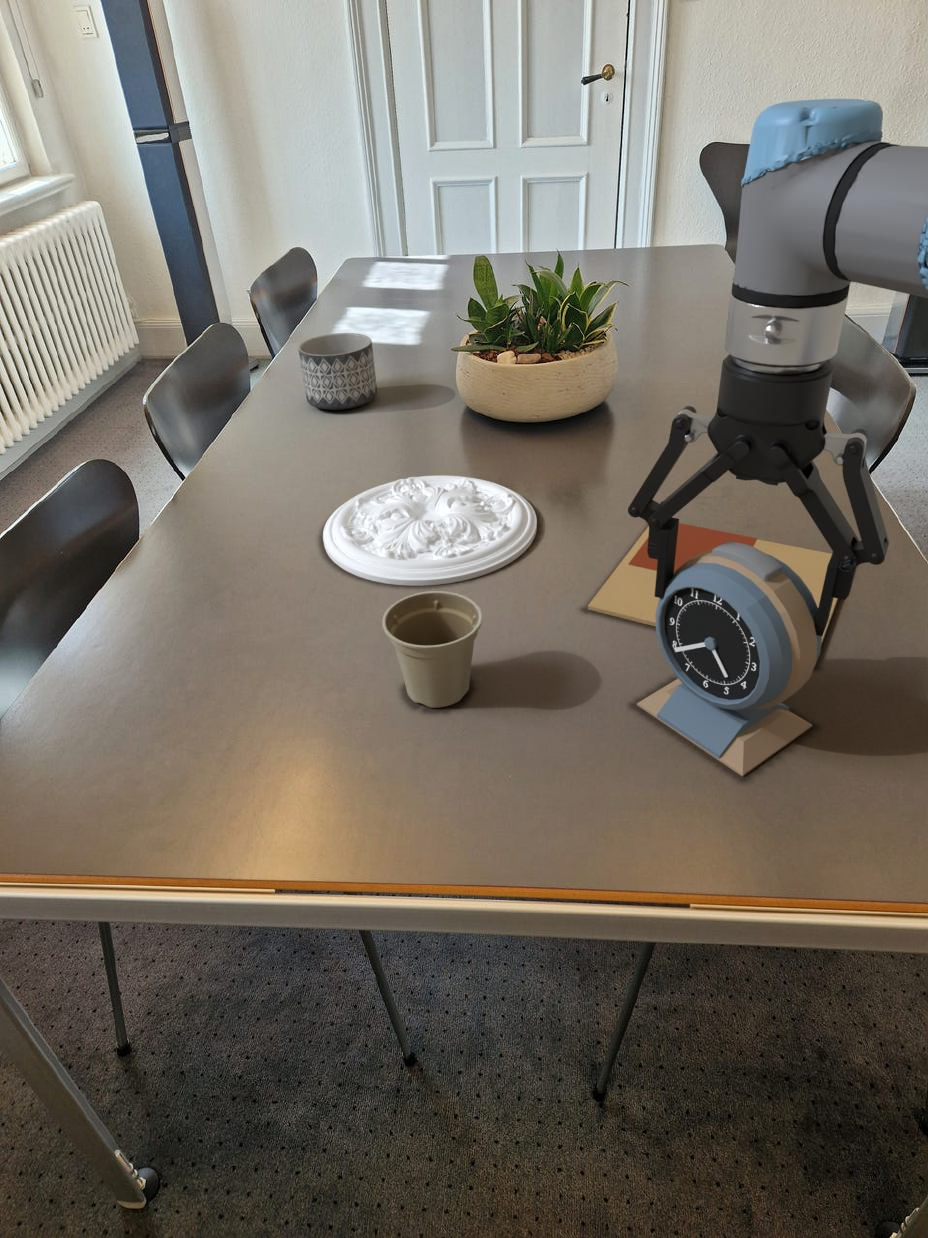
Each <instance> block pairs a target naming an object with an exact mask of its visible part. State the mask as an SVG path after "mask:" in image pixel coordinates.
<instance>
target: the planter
mask: <svg viewBox="0 0 928 1238" xmlns="http://www.w3.org/2000/svg"><path fill="white" fill-rule="evenodd" d="M297 349H298V355H299V361H300V368H301V373H302V378H303V379H302V380H303V385H304V392H305V397H306V401H307V403H308V404H309V405H310V406H312V407H314V408H317V409H322V410H330V411H346V410H351V409H355V408H357V407H361V406H363V405H366V404H368V403H370V402H372V401H374V399H375V398H377V396H378V383H377V376H376V366H375V359H374V351H373V341H372V338H371V337H370V336H368V335H366V334H361V333H356V332H355V333H354V332H335V333H328V334H321V335H317V336H314V337H311V338H308V339H306V340H304V341H302V342H301V343H300V344H299V345H298V347H297Z"/></svg>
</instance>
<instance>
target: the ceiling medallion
mask: <svg viewBox="0 0 928 1238" xmlns="http://www.w3.org/2000/svg"><path fill="white" fill-rule="evenodd" d="M537 530H538V519H537V514H536V511H535V509H534V508H533V506H532V505H531V503H530V502H529V501H528V500H527V499H525V497H523V496H522V495H521V494H519V493H517V492H515V490H512V489H510V488H508V487H506V486H503V485H501V484H498V483H496V482H492V481H488V480H484V479H480V478H475V477H468V476H460V475H424V476H423V475H422V476H410V477H407V478H399V479H397V480H393V481H390V482H387V483H383V484H380V485H377V486H375V487H372V488H369V489H367V490H365V491H363V492H360V493H358V494H357V495H355V496H353V497H352V498H350V499H348V500H347V501H345V502H344V503H342V505H340V506H339V507H338V508H336V510H334V512H333V513H331V514H330V516H329V517H328V519H327V520H326V522H325V524H324V528H323V532H322V540H323V546H324V549H325V551H326V554H327V556H328V557H329V558H330V560H331V561H332V562H333V563H335V565H336V566H338V567H339V568H341V569H342V570H344V571H346V572H348V573H350V574H352V575H354V576H356V577H359V578H362V579H364V580H368V581H372V582H375V583H381V584H388V585H394V586H395V585H396V586H406V587H407V586H411V587H413V586H414V587H415V586H416V587H421V586H423V587H425V586H436V585H437V586H438V585H447V584H453V583H458V582H464V581H467V580H471V579H475V578H479V577H481V576H484V575H487V574H490V573H492V572H495V571H497V570H499V569H501V568H503V567H505V566H507V565H509V564H510V563H512V562H513V561H515V560H517V559H518V558H519V557H520V556H522V555H523V554H524V553H525V552H526V551H527V550H528V548H530V546H531V545H532V544H533V541H534V539H535V538H536V534H537Z"/></svg>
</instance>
